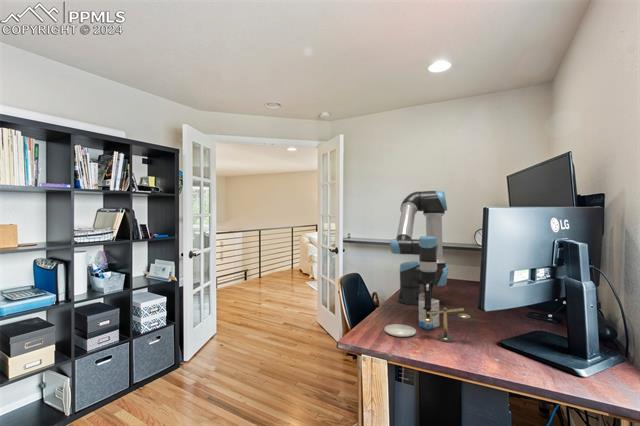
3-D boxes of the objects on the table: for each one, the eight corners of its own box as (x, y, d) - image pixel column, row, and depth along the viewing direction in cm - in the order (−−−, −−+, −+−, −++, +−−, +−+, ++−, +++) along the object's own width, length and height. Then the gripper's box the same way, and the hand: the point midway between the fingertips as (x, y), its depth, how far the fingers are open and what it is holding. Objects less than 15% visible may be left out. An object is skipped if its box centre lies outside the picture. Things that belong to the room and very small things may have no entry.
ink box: (428, 330, 131) (427, 296, 131) (418, 326, 135) (417, 293, 135) (440, 326, 136) (439, 293, 136) (430, 323, 140) (429, 291, 140)
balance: (422, 333, 127) (422, 302, 127) (470, 339, 120) (469, 307, 120) (421, 338, 121) (420, 306, 122) (471, 345, 114) (470, 311, 115)
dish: (387, 325, 137) (387, 322, 137) (417, 329, 132) (417, 326, 132) (381, 335, 125) (381, 332, 125) (414, 340, 120) (414, 337, 120)
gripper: (421, 266, 148) (422, 312, 147) (417, 274, 127) (418, 327, 127) (438, 267, 145) (439, 314, 144) (435, 275, 124) (437, 330, 124)
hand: (429, 320), depth 135 cm, fingers closed on ink box, 9 cm apart
